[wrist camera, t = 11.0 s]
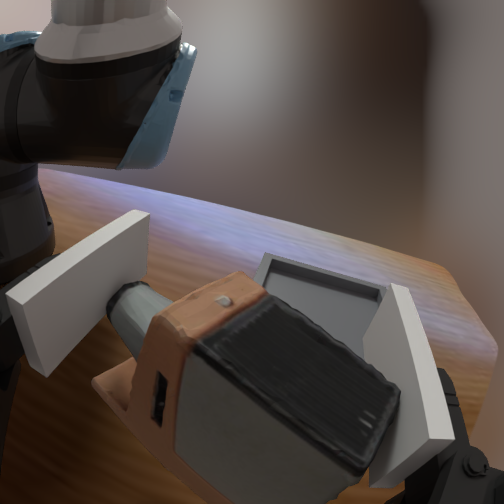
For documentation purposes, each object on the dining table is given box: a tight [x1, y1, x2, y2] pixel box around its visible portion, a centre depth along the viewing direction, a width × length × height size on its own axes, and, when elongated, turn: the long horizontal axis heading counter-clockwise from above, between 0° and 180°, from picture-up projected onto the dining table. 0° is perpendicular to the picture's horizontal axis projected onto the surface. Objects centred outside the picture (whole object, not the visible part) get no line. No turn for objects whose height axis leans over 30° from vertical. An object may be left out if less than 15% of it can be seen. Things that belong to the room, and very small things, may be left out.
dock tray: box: [253, 252, 387, 361], centre depth 28 cm, size 15×17×2 cm
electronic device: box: [91, 271, 401, 504], centre depth 9 cm, size 4×10×8 cm, turn 54°
